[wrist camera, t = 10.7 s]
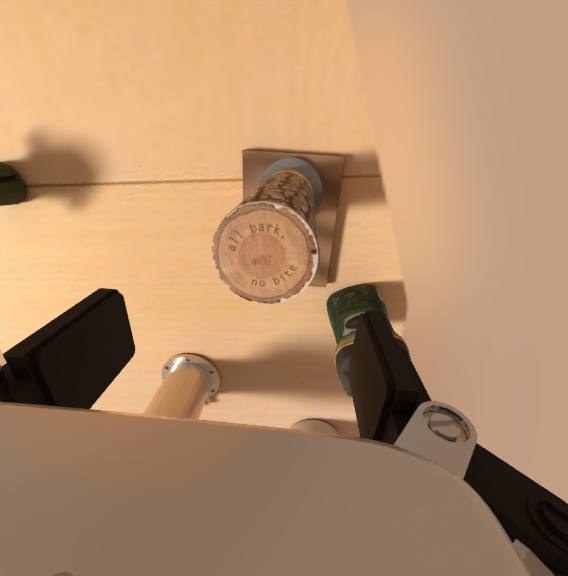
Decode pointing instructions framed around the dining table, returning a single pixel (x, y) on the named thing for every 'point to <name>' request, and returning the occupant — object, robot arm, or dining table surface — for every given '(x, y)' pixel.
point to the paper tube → (269, 241)
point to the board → (324, 183)
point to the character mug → (10, 187)
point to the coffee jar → (353, 323)
